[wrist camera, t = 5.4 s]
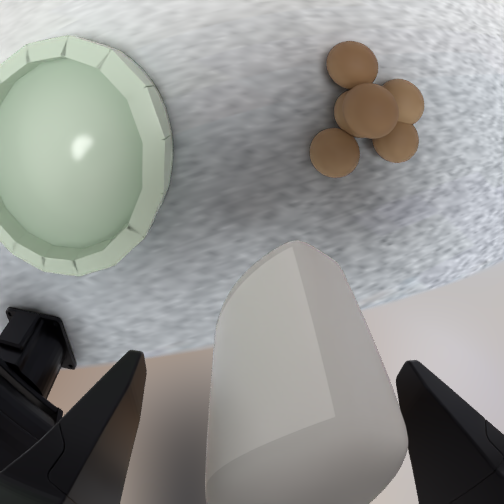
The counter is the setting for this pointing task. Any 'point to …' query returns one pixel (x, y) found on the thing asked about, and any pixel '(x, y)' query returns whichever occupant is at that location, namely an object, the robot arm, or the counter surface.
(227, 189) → the counter surface
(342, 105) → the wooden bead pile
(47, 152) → the sage dish
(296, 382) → the eye dropper bottle
